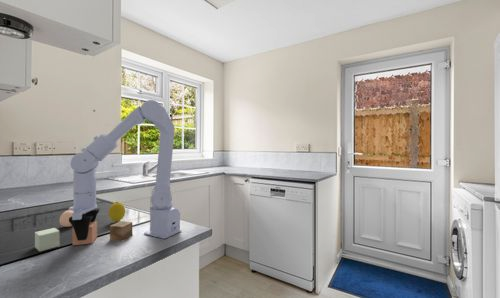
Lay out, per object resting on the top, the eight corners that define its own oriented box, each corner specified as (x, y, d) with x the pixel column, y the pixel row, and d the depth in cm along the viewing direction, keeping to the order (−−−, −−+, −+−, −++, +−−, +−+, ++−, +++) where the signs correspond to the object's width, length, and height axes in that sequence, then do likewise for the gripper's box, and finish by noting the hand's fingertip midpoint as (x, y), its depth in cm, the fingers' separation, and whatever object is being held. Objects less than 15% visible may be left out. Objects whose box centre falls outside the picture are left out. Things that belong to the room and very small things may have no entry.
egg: (57, 226, 85) (57, 210, 85) (75, 223, 89) (75, 207, 89) (61, 230, 82) (61, 213, 81) (78, 226, 85) (78, 210, 85)
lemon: (118, 225, 87) (117, 203, 87) (105, 224, 88) (105, 202, 88) (128, 220, 92) (128, 200, 92) (116, 219, 94) (116, 199, 93)
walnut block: (132, 235, 77) (132, 222, 77) (122, 241, 73) (122, 226, 73) (120, 234, 78) (120, 221, 78) (109, 240, 74) (109, 225, 74)
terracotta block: (97, 236, 76) (96, 221, 75) (92, 243, 71) (92, 226, 71) (78, 238, 74) (78, 223, 74) (72, 245, 69) (72, 228, 69)
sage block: (59, 246, 69) (59, 231, 69) (39, 251, 66) (39, 235, 65) (54, 242, 72) (54, 227, 72) (35, 247, 68) (34, 232, 68)
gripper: (78, 188, 78) (78, 229, 78) (58, 198, 64) (59, 247, 64) (102, 187, 80) (102, 227, 80) (89, 196, 66) (89, 244, 67)
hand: (85, 236), depth 72 cm, fingers closed on terracotta block, 5 cm apart
